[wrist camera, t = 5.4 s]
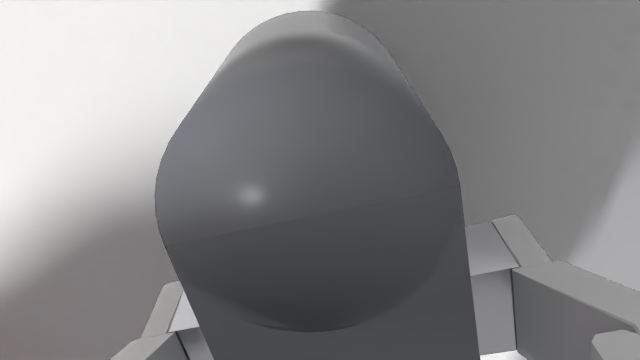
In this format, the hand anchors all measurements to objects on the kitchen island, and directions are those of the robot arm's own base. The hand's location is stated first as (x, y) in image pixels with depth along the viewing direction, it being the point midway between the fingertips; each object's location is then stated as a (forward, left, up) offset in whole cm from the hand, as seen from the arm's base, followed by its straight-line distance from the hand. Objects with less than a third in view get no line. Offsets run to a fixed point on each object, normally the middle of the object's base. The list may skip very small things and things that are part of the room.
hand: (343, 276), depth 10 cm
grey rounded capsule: (0, 0, -2) cm, 2 cm away
